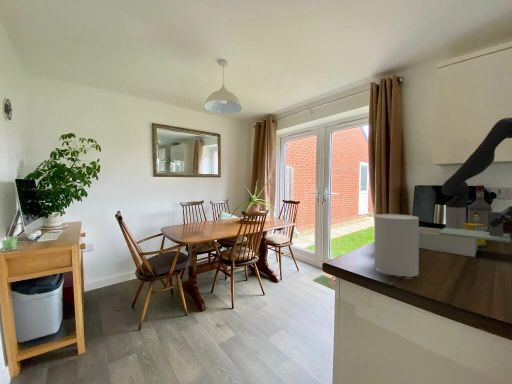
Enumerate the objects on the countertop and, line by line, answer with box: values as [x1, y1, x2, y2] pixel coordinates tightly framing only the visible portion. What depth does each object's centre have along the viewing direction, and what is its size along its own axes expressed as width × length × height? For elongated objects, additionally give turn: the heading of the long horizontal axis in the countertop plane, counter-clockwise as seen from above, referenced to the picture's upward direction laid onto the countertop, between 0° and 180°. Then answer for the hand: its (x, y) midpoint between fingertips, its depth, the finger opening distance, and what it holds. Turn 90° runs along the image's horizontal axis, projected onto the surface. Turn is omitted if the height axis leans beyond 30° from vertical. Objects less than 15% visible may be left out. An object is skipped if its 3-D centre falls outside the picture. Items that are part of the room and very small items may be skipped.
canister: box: [374, 213, 420, 277], centre depth 81 cm, size 14×14×20 cm
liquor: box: [467, 184, 493, 232], centre depth 140 cm, size 9×9×30 cm
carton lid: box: [439, 211, 511, 243], centre depth 101 cm, size 22×16×11 cm
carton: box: [419, 226, 478, 258], centre depth 108 cm, size 22×16×8 cm
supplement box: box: [463, 222, 487, 248], centre depth 112 cm, size 6×6×11 cm
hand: (491, 224), depth 96 cm, fingers open, 8 cm apart
